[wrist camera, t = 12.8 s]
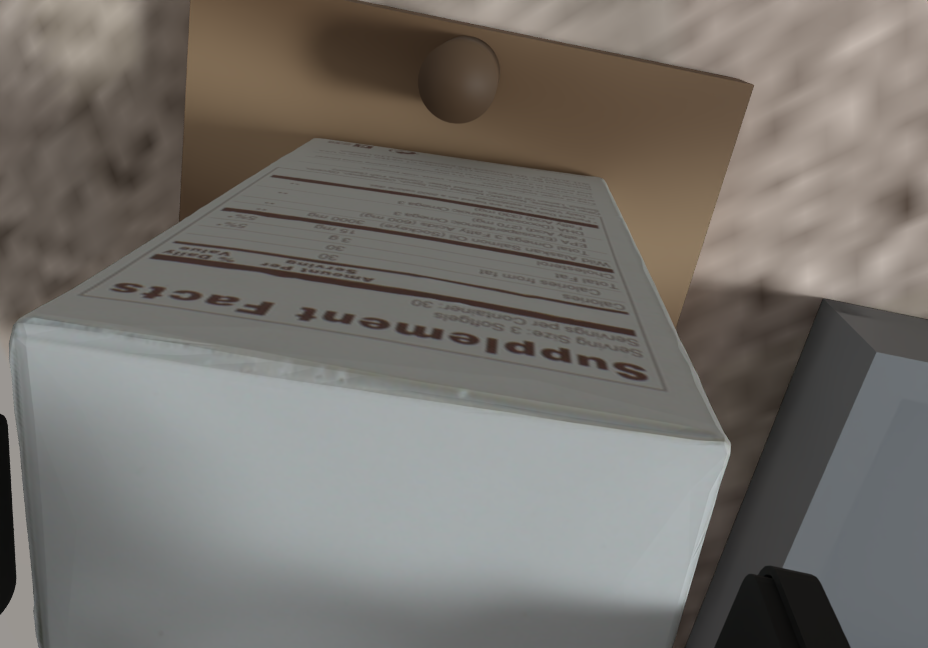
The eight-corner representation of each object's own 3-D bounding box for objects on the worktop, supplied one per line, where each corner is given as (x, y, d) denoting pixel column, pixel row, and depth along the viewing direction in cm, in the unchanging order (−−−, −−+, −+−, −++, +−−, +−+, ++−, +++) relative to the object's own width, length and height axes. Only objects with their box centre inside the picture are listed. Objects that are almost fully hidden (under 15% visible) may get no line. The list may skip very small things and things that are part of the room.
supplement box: (557, 435, 22) (595, 938, 10) (291, 392, 22) (28, 843, 10) (615, 171, 19) (761, 448, 7) (309, 122, 19) (-28, 321, 7)
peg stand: (215, -30, 19) (142, -35, 16) (737, 78, 19) (787, 97, 16) (187, 426, 24) (127, 503, 21) (602, 510, 24) (616, 601, 21)
